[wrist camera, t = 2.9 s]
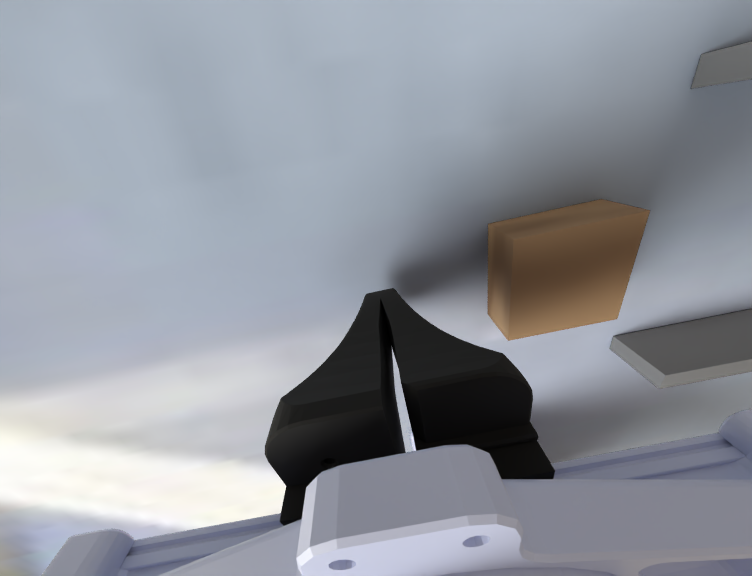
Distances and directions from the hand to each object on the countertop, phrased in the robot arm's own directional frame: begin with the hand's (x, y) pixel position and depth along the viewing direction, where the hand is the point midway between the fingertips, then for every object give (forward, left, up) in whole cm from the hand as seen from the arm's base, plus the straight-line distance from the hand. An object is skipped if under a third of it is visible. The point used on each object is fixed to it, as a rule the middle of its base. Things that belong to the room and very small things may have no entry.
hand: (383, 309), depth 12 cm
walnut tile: (0, -8, -2) cm, 8 cm away
